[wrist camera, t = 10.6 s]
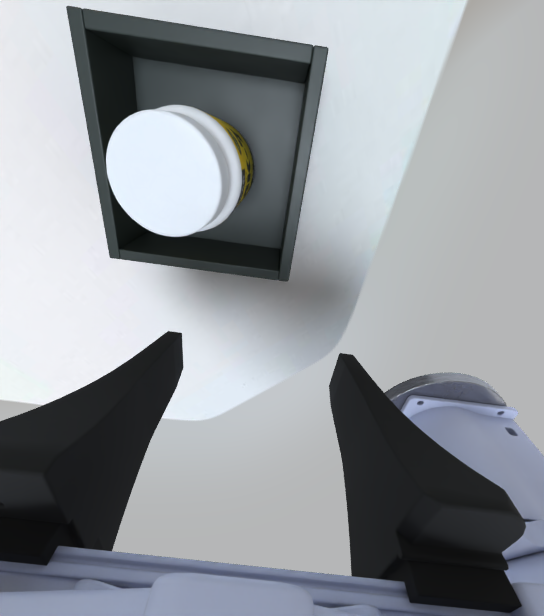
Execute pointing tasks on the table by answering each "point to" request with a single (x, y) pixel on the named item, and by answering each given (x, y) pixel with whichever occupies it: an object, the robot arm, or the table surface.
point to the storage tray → (219, 103)
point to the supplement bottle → (178, 169)
